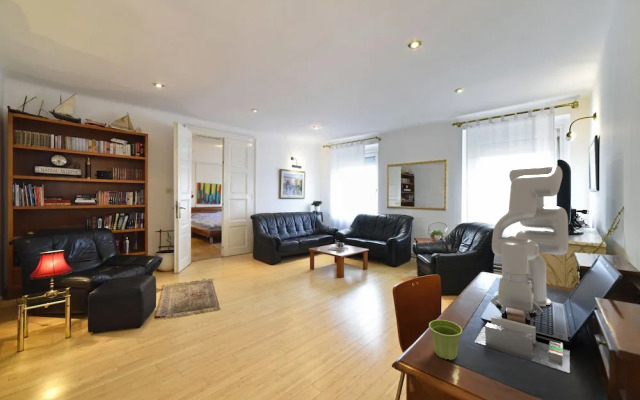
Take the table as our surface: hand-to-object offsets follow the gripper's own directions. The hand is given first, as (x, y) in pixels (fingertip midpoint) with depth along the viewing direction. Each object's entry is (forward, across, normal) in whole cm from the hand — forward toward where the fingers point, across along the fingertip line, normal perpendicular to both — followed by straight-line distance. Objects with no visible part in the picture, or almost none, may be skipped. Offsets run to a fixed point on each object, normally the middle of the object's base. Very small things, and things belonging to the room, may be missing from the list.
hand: (515, 325), depth 94 cm
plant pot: (+2, +14, +31) cm, 34 cm away
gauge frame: (+1, -2, +12) cm, 12 cm away
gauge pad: (+1, -3, +7) cm, 8 cm away
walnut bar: (+1, 0, 0) cm, 1 cm away
